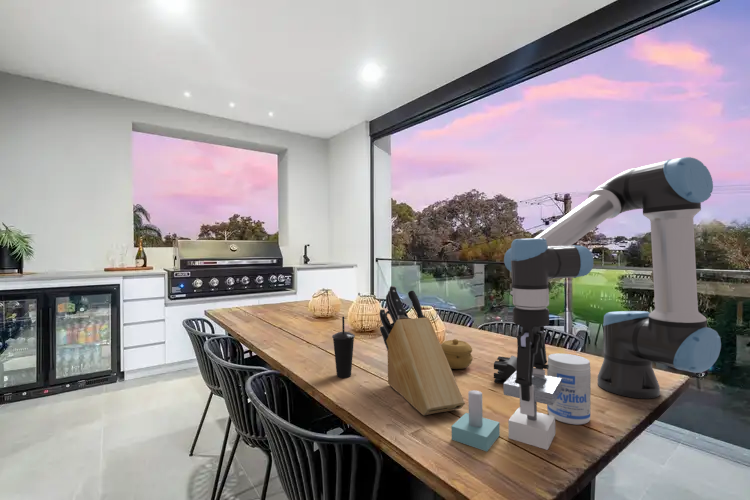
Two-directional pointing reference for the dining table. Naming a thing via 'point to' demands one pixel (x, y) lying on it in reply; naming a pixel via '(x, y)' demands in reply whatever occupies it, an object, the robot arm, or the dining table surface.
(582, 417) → the supplement tub
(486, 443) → the teal peg base
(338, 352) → the drinking cup
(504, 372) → the end cap
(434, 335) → the knife block
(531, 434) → the stand
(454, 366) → the pot
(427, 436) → the dining table surface
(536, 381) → the square block with hole
